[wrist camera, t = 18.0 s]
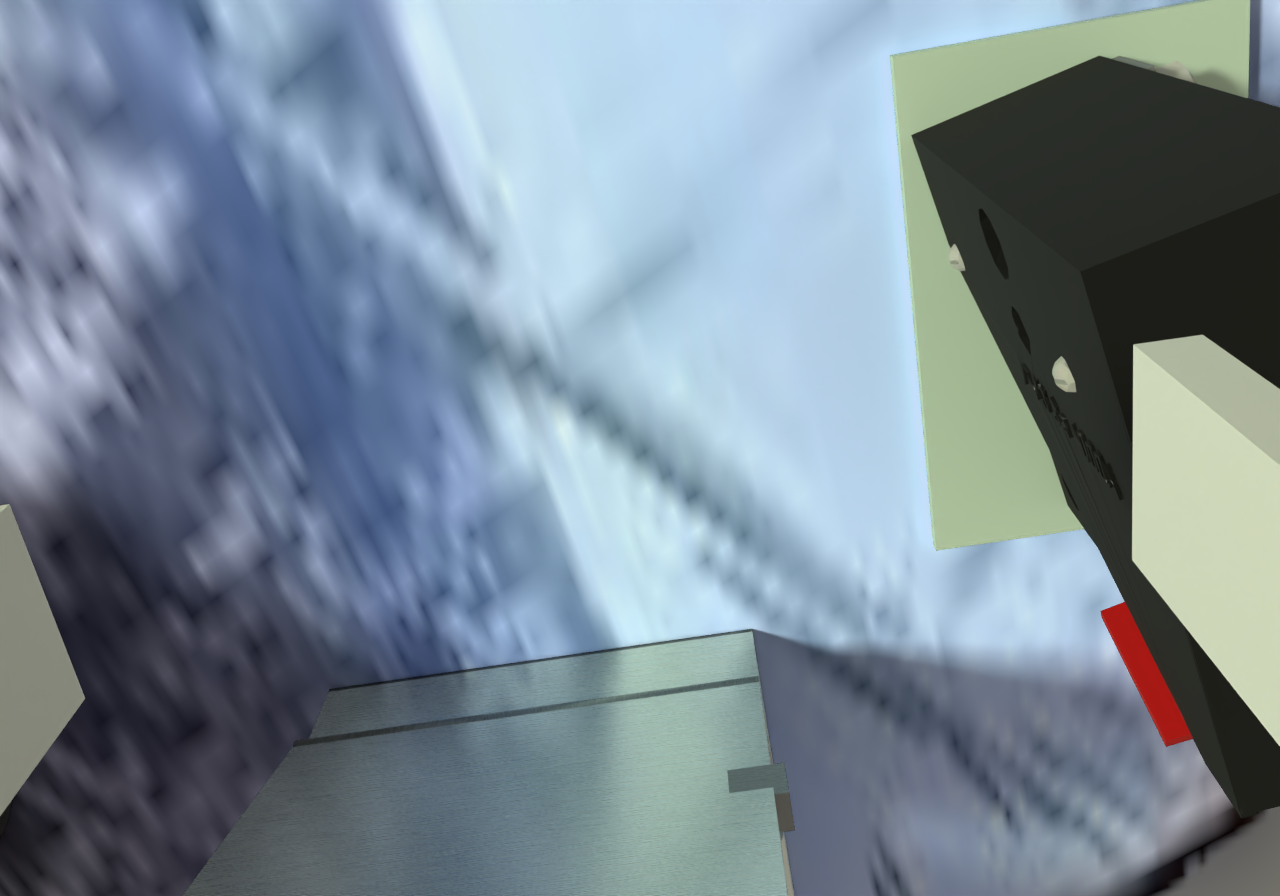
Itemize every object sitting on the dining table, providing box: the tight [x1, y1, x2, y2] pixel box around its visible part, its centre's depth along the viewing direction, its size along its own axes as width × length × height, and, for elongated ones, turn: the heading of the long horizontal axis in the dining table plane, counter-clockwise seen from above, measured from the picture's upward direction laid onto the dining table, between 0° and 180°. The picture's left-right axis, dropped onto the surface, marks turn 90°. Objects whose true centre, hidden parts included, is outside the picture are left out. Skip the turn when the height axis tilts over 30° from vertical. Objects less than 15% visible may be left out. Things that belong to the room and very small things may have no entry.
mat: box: [890, 0, 1250, 551], centre depth 49 cm, size 13×21×1 cm, turn 10°
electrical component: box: [911, 56, 1280, 818], centre depth 40 cm, size 18×10×20 cm, turn 23°
